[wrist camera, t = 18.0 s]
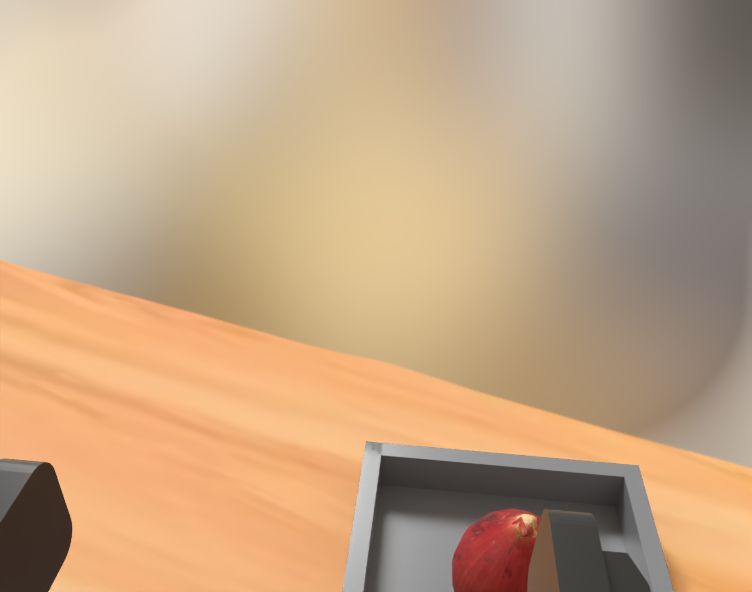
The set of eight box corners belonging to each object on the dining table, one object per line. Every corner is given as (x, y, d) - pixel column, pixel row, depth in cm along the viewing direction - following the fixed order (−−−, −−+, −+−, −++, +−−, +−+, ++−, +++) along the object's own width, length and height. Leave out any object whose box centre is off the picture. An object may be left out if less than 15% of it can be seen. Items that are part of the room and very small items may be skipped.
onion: (422, 609, 36) (432, 503, 32) (502, 552, 39) (521, 448, 35) (505, 704, 32) (529, 597, 28) (587, 633, 35) (620, 526, 31)
